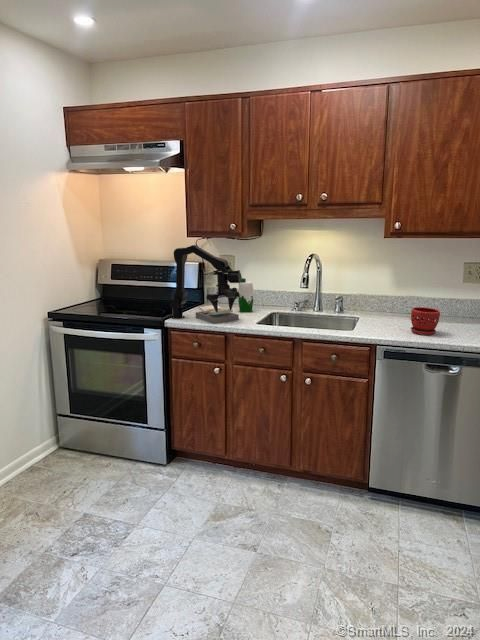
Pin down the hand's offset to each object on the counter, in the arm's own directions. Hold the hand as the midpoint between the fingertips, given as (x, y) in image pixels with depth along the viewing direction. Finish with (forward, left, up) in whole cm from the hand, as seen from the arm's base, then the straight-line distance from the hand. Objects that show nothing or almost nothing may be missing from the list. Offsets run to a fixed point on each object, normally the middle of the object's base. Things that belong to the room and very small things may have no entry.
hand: (223, 310), depth 258 cm
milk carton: (-14, +26, -6) cm, 30 cm away
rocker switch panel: (-7, 0, -6) cm, 9 cm away
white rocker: (-13, 0, -2) cm, 13 cm away
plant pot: (+83, +63, -6) cm, 104 cm away
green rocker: (-3, 0, -2) cm, 4 cm away
